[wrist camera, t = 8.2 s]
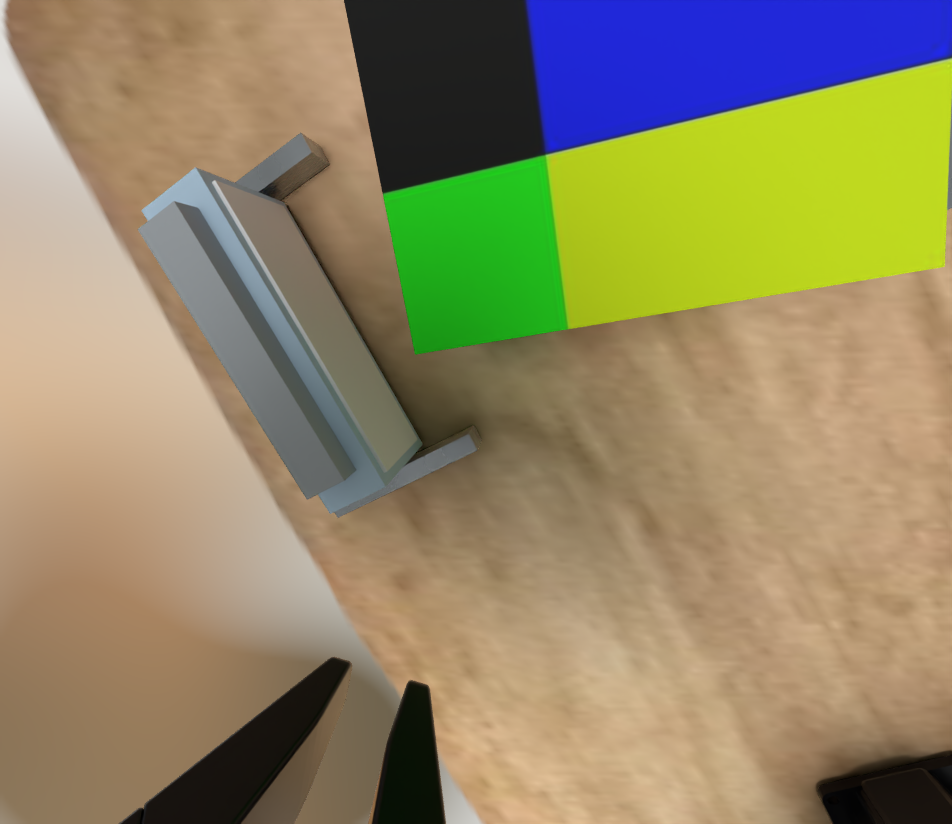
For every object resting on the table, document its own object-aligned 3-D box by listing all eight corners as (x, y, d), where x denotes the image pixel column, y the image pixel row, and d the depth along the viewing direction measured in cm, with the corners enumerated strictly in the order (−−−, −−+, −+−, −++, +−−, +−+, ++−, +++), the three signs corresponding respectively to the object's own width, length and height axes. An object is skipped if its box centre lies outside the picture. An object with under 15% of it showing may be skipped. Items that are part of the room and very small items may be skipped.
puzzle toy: (710, -5, 16) (976, -503, 6) (726, 287, 18) (944, 266, 8) (435, 73, 17) (301, -214, 8) (478, 330, 19) (415, 354, 10)
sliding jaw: (425, 443, 21) (379, 496, 15) (378, 466, 21) (316, 526, 15) (286, 200, 19) (173, 154, 13) (240, 233, 20) (113, 203, 14)
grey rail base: (899, 236, 16) (1048, 207, 11) (351, 503, 22) (297, 558, 17) (745, -171, 14) (845, -409, 10) (191, 241, 20) (81, 221, 16)
